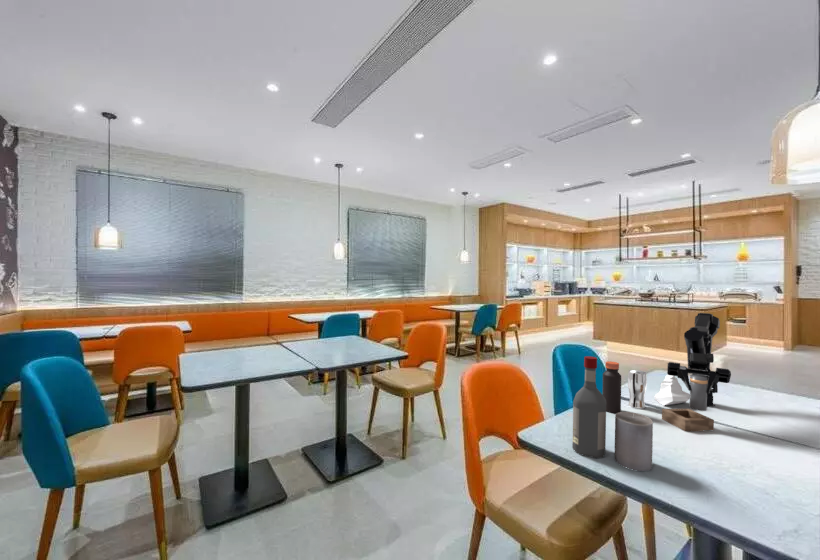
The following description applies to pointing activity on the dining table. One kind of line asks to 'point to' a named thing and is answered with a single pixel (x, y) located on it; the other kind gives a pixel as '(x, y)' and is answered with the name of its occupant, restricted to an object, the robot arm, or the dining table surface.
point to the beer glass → (637, 388)
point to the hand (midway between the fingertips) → (698, 391)
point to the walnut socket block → (687, 419)
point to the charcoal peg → (698, 392)
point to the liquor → (589, 415)
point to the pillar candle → (633, 441)
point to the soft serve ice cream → (671, 392)
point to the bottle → (612, 387)
